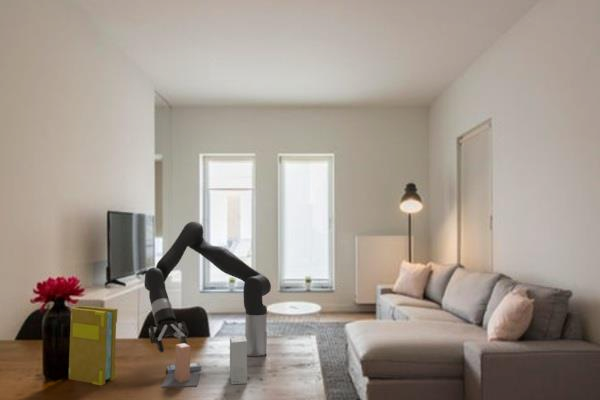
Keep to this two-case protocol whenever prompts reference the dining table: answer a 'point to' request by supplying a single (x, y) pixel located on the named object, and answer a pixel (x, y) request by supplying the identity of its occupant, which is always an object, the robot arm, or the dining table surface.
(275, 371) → the dining table surface
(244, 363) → the skincare box
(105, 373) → the book
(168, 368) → the blue panel box
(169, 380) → the mat
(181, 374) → the tan rectangular block
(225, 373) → the dining table surface
